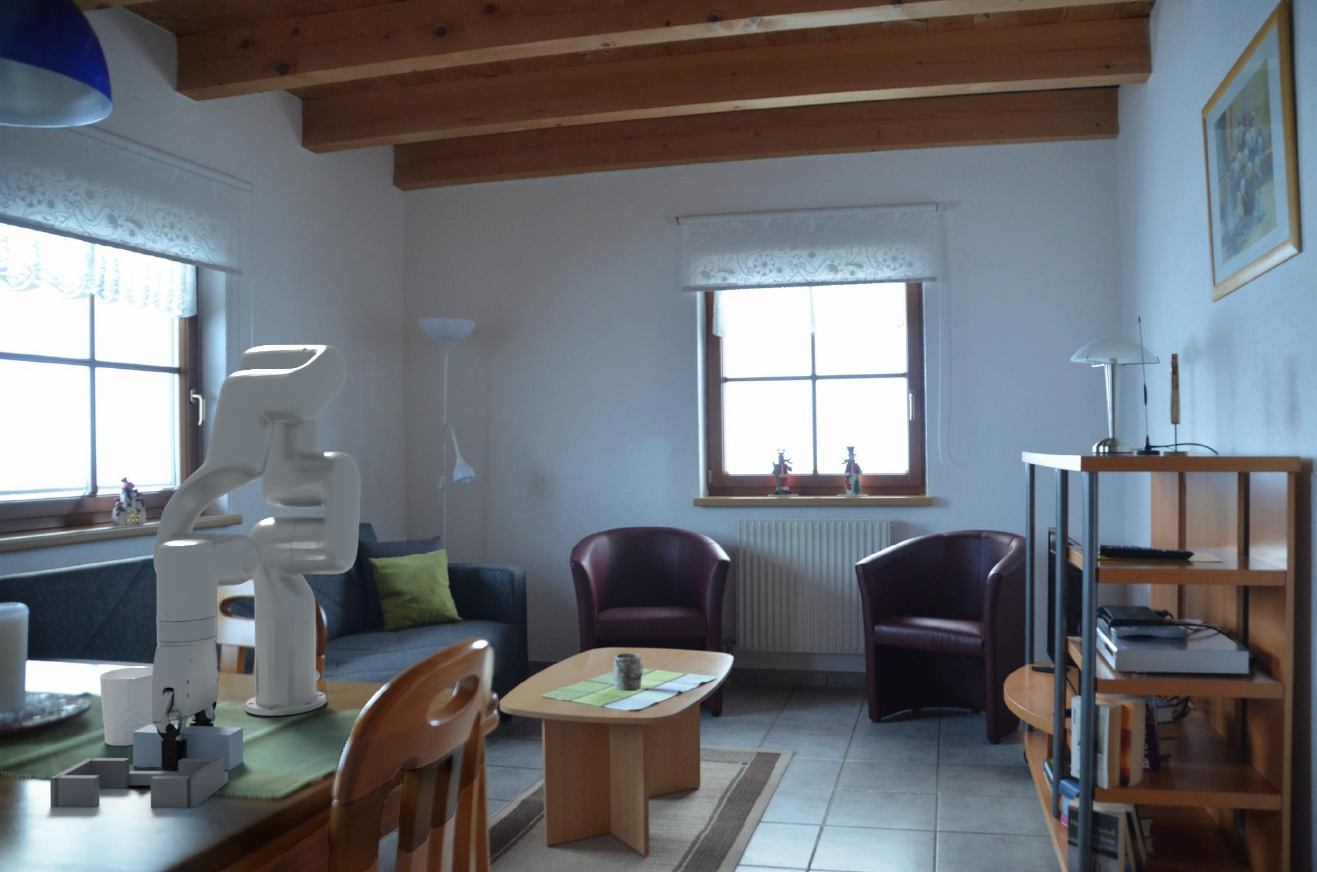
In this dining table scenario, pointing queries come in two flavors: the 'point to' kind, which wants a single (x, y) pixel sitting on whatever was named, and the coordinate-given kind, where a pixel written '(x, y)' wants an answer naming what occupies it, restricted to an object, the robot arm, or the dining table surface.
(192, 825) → the dining table surface
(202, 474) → the robot arm
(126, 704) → the white cup
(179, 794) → the grey rectangular holder
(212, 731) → the blue rectangular block
